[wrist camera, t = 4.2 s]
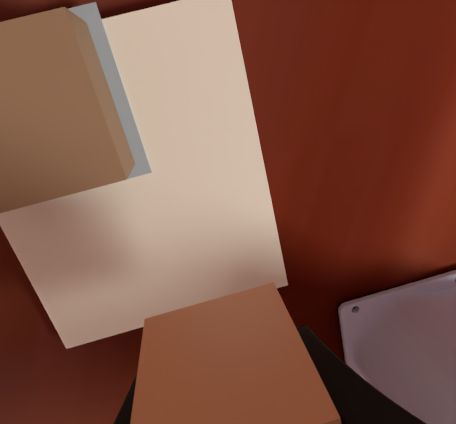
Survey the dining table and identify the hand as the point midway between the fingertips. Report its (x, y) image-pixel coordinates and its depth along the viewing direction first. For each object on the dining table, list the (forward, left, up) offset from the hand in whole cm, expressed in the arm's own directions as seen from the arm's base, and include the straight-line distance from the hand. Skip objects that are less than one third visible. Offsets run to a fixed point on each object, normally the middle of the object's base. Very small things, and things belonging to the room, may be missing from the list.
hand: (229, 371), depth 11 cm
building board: (+3, -5, -9) cm, 10 cm away
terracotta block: (0, 0, -1) cm, 1 cm away
